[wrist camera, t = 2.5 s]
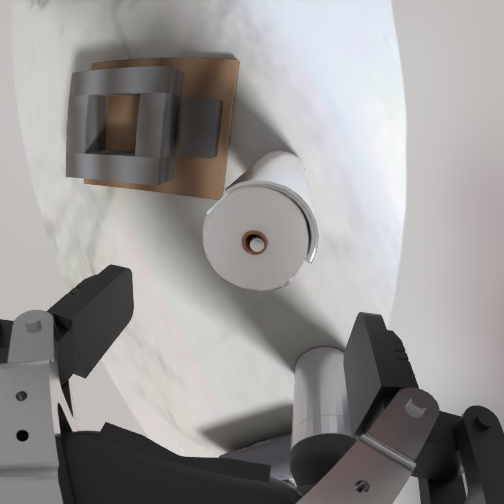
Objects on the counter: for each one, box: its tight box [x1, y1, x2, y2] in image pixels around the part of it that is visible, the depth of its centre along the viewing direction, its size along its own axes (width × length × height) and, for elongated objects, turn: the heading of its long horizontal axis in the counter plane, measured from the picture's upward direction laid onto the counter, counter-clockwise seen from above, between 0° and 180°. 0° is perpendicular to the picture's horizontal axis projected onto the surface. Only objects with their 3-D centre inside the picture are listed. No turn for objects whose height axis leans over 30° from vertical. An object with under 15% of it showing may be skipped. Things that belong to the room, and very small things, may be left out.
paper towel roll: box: [203, 150, 319, 291], centre depth 28 cm, size 6×6×25 cm
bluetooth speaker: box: [219, 434, 293, 481], centre depth 55 cm, size 23×9×10 cm, turn 125°
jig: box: [66, 58, 240, 200], centre depth 36 cm, size 21×18×6 cm
